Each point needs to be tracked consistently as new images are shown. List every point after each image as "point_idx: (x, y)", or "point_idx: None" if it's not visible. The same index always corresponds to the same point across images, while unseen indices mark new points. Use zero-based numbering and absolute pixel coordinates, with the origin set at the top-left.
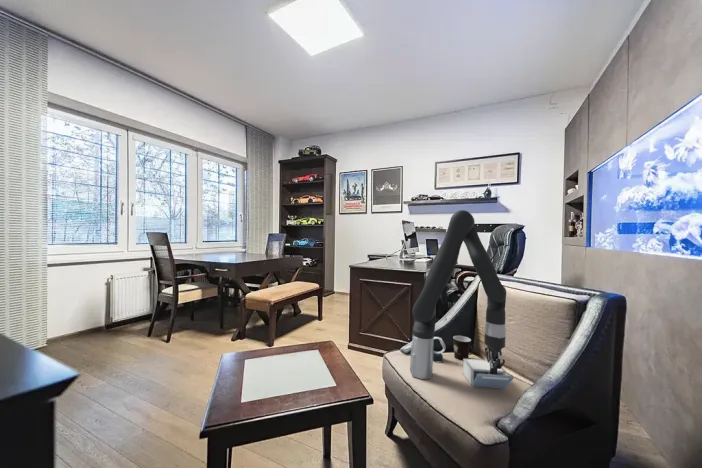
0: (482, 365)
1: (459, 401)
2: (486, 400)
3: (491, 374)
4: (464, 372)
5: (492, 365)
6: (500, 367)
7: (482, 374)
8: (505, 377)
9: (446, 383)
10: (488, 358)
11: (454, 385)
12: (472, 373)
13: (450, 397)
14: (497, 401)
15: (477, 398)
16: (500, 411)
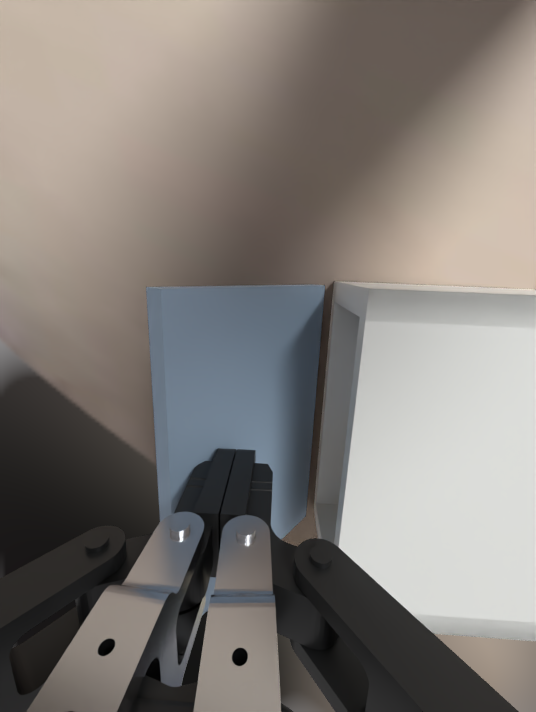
0: (460, 468)
1: (81, 78)
2: (139, 312)
3: (167, 451)
4: (509, 289)
5: (145, 550)
6: (54, 625)
7: (158, 345)
8: None
9: (364, 52)
10: (248, 613)
11: (331, 128)
12: (353, 299)
13: (126, 7)
14: (141, 381)
15: (153, 256)
16: (29, 345)
